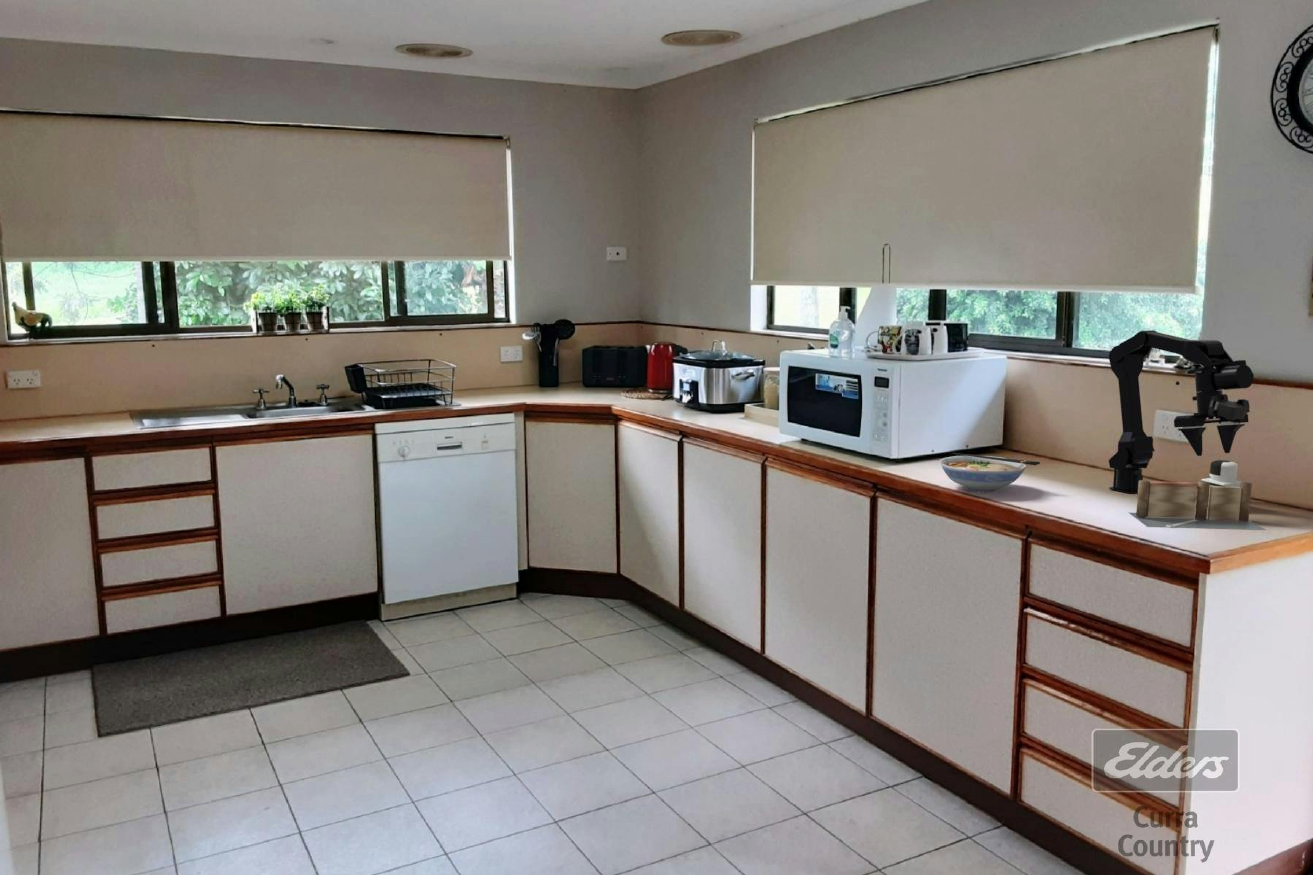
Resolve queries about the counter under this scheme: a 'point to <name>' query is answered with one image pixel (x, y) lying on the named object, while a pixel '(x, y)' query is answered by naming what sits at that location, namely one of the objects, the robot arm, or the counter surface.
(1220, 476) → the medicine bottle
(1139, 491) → the fence gate
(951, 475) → the ramen bowl
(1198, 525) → the card
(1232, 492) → the fence fixed
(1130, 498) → the counter surface
